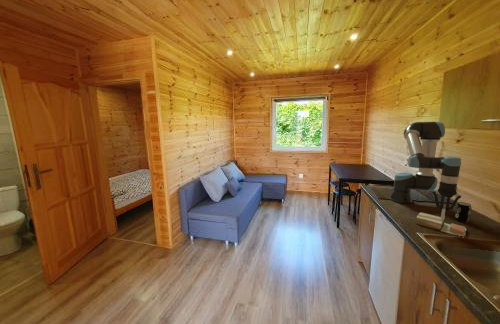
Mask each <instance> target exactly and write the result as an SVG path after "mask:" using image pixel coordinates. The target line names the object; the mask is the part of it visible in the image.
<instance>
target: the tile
mask: <svg viewBox="0 0 500 324" xmlns="http://www.w3.org/2000/svg"><path fill="white" fill-rule="evenodd" d="M450 225H451V226H450V229H449V231H450V232H453V233H457V234H461V235H464V231H465V228H466V226H464V225H460V224H455V223H450Z"/></svg>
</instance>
